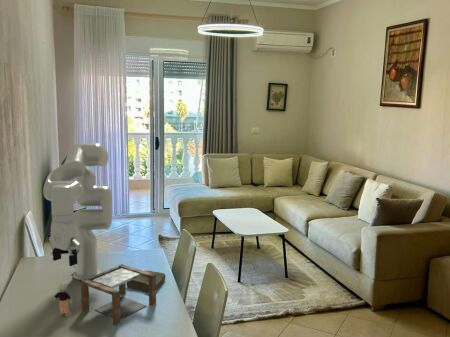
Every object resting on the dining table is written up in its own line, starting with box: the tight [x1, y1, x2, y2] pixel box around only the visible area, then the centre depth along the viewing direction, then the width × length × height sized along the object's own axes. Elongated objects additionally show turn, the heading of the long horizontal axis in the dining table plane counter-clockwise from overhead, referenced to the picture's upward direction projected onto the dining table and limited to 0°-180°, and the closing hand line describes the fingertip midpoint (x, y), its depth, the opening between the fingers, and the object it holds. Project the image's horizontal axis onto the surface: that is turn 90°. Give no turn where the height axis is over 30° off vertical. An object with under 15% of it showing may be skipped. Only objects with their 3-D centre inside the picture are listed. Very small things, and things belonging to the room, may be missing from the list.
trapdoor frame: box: [80, 264, 157, 327], centre depth 169 cm, size 20×21×13 cm
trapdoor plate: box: [88, 266, 140, 289], centre depth 170 cm, size 13×15×1 cm
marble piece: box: [126, 270, 166, 294], centre depth 192 cm, size 17×15×4 cm
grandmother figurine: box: [53, 282, 73, 318], centre depth 163 cm, size 8×4×13 cm, turn 86°
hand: (65, 262), depth 162 cm, fingers open, 9 cm apart
